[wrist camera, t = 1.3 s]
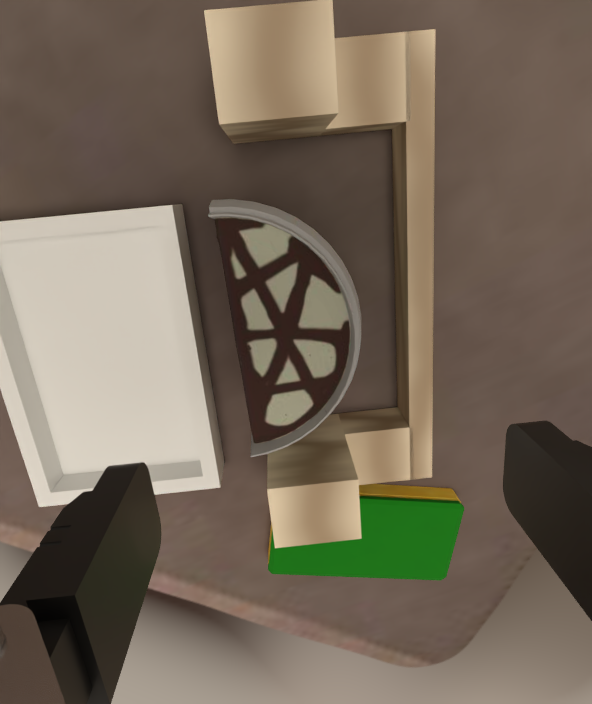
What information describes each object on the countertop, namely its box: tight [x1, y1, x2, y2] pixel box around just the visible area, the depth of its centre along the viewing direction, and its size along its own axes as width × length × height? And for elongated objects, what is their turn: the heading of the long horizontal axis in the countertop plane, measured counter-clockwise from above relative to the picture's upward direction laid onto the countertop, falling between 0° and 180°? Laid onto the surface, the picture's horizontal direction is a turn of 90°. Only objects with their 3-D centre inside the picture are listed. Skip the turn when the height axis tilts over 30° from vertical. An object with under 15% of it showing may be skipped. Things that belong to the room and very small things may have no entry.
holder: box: [204, 0, 435, 548], centre depth 26 cm, size 11×26×8 cm, turn 5°
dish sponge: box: [268, 484, 464, 580], centre depth 35 cm, size 7×14×2 cm, turn 84°
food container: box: [208, 199, 361, 457], centre depth 25 cm, size 12×6×10 cm, turn 7°
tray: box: [0, 204, 225, 507], centre depth 29 cm, size 12×18×3 cm, turn 5°
